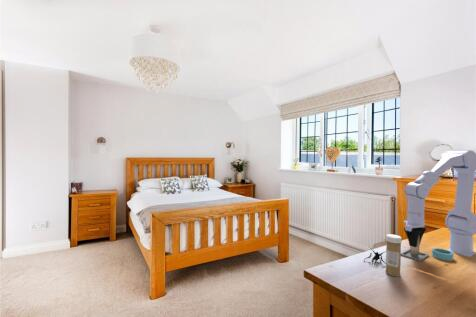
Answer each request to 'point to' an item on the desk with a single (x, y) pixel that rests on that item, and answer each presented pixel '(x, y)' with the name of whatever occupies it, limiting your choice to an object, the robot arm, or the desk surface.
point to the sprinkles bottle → (393, 254)
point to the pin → (415, 248)
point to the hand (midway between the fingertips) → (414, 245)
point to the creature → (375, 257)
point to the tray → (418, 258)
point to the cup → (442, 254)
